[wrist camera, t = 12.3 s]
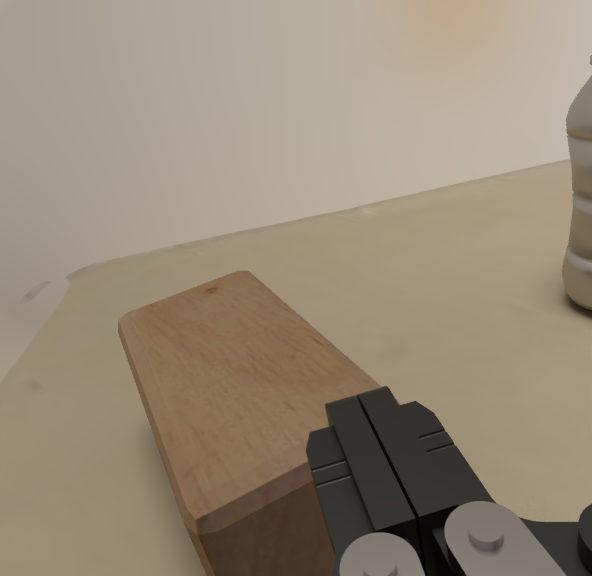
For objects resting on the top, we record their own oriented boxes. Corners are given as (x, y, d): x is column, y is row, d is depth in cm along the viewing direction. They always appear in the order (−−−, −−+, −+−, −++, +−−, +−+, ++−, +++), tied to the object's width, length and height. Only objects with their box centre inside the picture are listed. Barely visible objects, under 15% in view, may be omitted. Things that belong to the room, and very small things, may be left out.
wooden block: (416, 404, 21) (246, 261, 38) (183, 526, 18) (110, 313, 35) (436, 561, 26) (276, 371, 43) (251, 680, 23) (158, 425, 40)
